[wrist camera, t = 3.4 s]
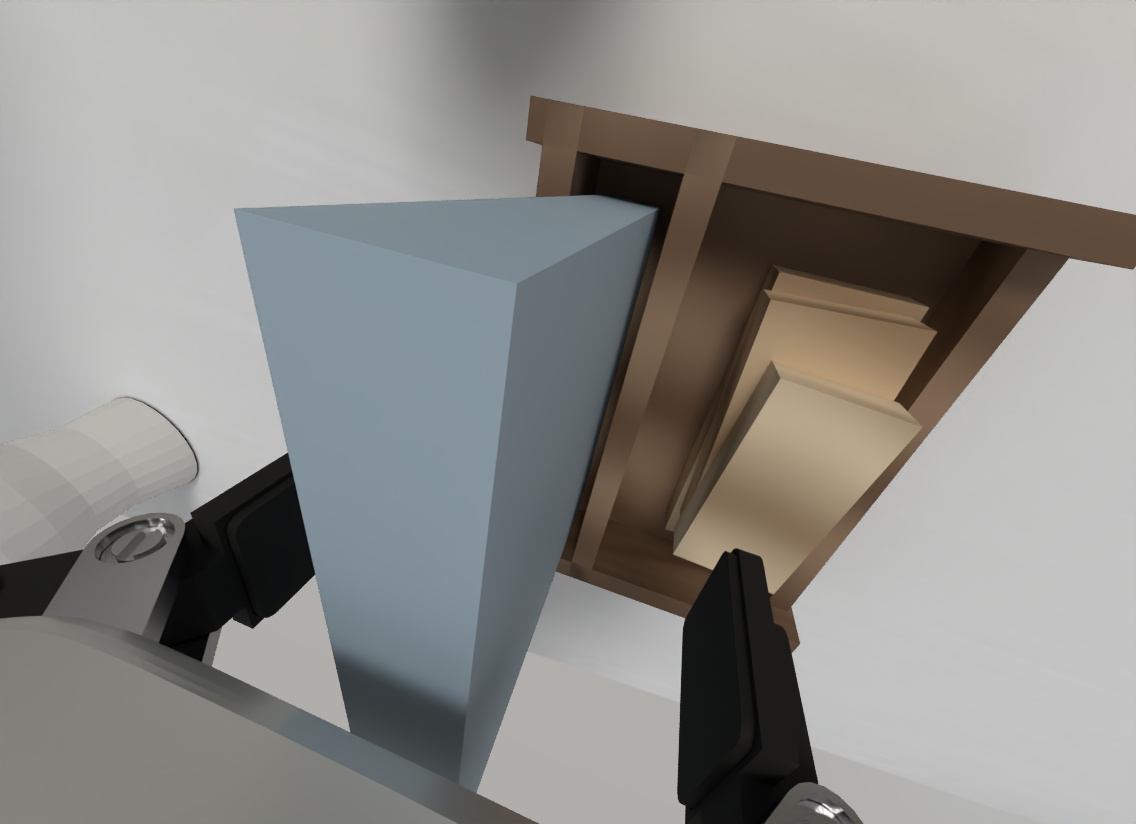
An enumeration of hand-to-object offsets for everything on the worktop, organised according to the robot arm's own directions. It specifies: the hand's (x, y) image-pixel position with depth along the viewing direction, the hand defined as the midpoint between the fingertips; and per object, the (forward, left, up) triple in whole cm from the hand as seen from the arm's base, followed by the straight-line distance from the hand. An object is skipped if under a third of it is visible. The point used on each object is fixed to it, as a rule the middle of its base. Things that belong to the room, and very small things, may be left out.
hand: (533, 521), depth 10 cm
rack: (0, +4, -10) cm, 11 cm away
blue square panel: (0, 0, -9) cm, 9 cm away
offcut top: (0, +7, -6) cm, 9 cm away
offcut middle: (-1, +7, -8) cm, 10 cm away
